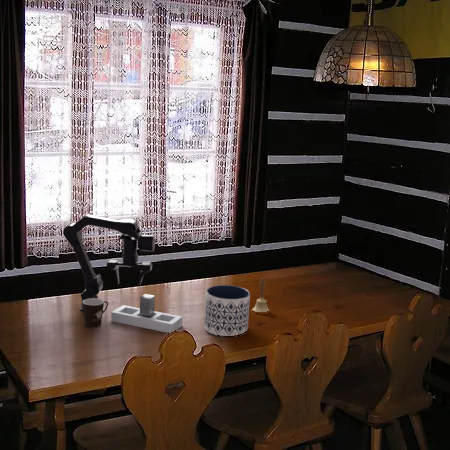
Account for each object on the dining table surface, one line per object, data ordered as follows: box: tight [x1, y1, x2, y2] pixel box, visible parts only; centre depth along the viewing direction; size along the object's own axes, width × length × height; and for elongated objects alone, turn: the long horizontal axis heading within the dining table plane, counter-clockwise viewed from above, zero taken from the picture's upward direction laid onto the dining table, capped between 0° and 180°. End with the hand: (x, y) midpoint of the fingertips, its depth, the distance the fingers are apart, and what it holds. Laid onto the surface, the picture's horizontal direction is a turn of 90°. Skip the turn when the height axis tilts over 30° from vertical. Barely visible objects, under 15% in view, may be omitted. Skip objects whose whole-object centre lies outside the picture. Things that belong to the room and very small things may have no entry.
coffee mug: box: [83, 298, 109, 329], centre depth 284 cm, size 12×9×10 cm
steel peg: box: [139, 293, 156, 318], centre depth 289 cm, size 4×4×12 cm
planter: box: [203, 284, 251, 337], centre depth 287 cm, size 18×18×16 cm
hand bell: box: [251, 277, 270, 312], centre depth 311 cm, size 8×8×16 cm
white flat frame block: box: [110, 304, 183, 334], centre depth 289 cm, size 28×10×4 cm, turn 69°
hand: (129, 284), depth 297 cm, fingers open, 9 cm apart
